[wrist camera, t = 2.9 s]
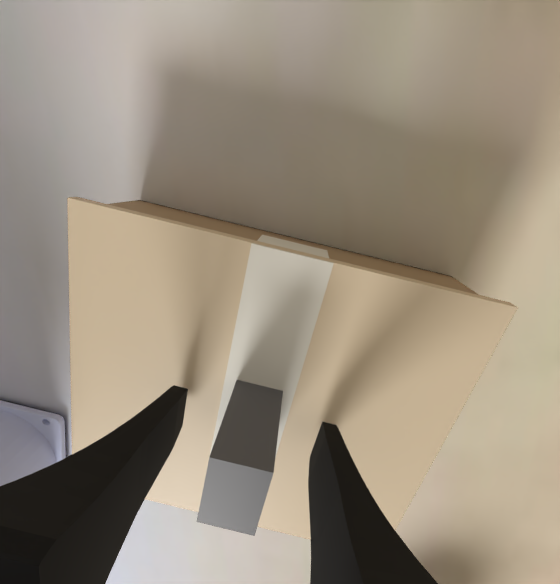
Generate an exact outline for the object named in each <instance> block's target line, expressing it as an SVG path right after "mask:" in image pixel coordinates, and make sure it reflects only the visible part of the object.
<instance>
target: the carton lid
mask: <svg viewBox="0 0 560 584" xmlns="http://www.w3.org/2000/svg"><path fill="white" fill-rule="evenodd" d="M67 204H68V260H69V316H70V371H71V427H72V454H74V453H76V452H78V451H80V450H82V449H83V448H85V447H87V446H89V445H91V444H92V443H94V442H96V441H97V440H99V439H101V438H102V437H104V436H106V435H107V434H109V433H110V432H112V431H113V430H115V429H116V428H118V427H119V426H121V425H122V424H124V423H125V422H127V421H128V420H130V419H131V418H132V417H134V416H135V415H136V414H138V413H139V412H140V411H142V410H143V409H144V408H146V407H147V406H148V405H150V404H151V403H152V402H153V401H155V400H156V399H157V398H158V397H160V396H161V395H162V394H163V393H164V392H166V391H167V390H168V389H169V388H170V387H172V386H173V385H175V386H179V387H183V388H187V389H188V392H187V399H186V406H185V413H184V419H183V426H182V428H181V431H180V433H179V436H178V438H177V440H176V443H175V445H174V447H173V449H172V451H171V453H170V455H169V457H168V459H167V460H166V462H165V464H164V466H163V467H162V469H161V471H160V473H159V475H158V476H157V478H156V480H155V482H154V483H153V485H152V487H151V489H150V490H149V492H148V494H147V496H146V498H145V499H146V500H150V501H154V502H159V503H163V504H167V505H171V506H175V507H179V508H183V509H187V510H191V511H195V512H198V517H197V522H200V523H204V524H208V525H212V526H216V527H220V528H224V529H229V530H233V531H237V532H241V533H245V534H249V535H253V536H255V532H256V529H257V527H261V528H265V529H269V530H273V531H277V532H281V533H285V534H289V535H294V536H298V537H302V538H306V539H310V540H311V534H310V513H309V492H308V476H309V460H310V455H311V452H312V449H313V446H314V444H315V441H316V438H317V435H318V432H319V429H320V427H321V424H322V422H326V423H330V424H335V425H337V427H338V428H339V431H340V433H341V435H342V438H343V440H344V442H345V444H346V447H347V449H348V451H349V453H350V455H351V457H352V459H353V461H354V463H355V465H356V467H357V469H358V471H359V473H360V475H361V477H362V479H363V480H364V482H365V484H366V486H367V488H368V489H369V491H370V493H371V495H372V496H373V498H374V500H375V501H376V503H377V505H378V506H379V508H380V509H381V511H382V512H383V514H384V515H385V517H386V518H387V520H388V521H389V523H390V524H391V526H392V527H393V529H394V530H396V528H397V527H398V525H399V523H400V521H401V519H402V518H403V516H404V514H405V512H406V510H407V508H408V507H409V505H410V503H411V501H412V499H413V498H414V496H415V494H416V492H417V490H418V489H419V487H420V485H421V483H422V481H423V479H424V478H425V476H426V474H427V472H428V470H429V469H430V467H431V465H432V463H433V461H434V459H435V458H436V456H437V454H438V452H439V450H440V449H441V447H442V445H443V443H444V441H445V440H446V438H447V436H448V434H449V432H450V430H451V429H452V427H453V425H454V423H455V421H456V420H457V418H458V416H459V414H460V412H461V411H462V409H463V407H464V405H465V403H466V401H467V400H468V398H469V396H470V394H471V392H472V391H473V389H474V387H475V385H476V383H477V382H478V380H479V378H480V376H481V374H482V372H483V371H484V369H485V367H486V365H487V363H488V362H489V360H490V358H491V356H492V354H493V352H494V351H495V349H496V347H497V345H498V343H499V342H500V340H501V338H502V336H503V334H504V333H505V331H506V329H507V327H508V325H509V323H510V322H511V320H512V318H513V316H514V314H515V313H516V311H517V309H518V307H516V306H514V305H513V304H511V303H509V302H505V301H501V300H497V299H493V298H489V297H485V296H481V295H477V294H472V293H468V292H464V291H460V290H456V289H452V288H448V287H444V286H440V285H436V284H432V283H427V282H423V281H419V280H415V279H411V278H407V277H403V276H399V275H395V274H391V273H387V272H382V271H378V270H374V269H370V268H366V267H362V266H358V265H354V264H350V263H346V262H341V261H337V260H333V259H329V258H325V257H321V256H317V255H313V254H309V253H305V252H301V251H296V250H292V249H288V248H284V247H280V246H276V245H272V244H268V243H264V242H260V241H256V240H251V239H247V238H243V237H239V236H235V235H231V234H227V233H223V232H219V231H215V230H211V229H206V228H202V227H198V226H194V225H190V224H186V223H182V222H178V221H174V220H170V219H165V218H161V217H157V216H153V215H149V214H145V213H141V212H137V211H133V210H129V209H125V208H120V207H116V206H112V205H108V204H104V203H100V202H96V201H92V200H88V199H84V198H80V197H69V198H67Z"/></svg>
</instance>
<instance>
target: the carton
mask: <svg viewBox="0 0 560 584" xmlns="http://www.w3.org/2000/svg"><path fill="white" fill-rule="evenodd" d="M108 205H112V206H116V207H120V208H125V209H129V210H133V211H137V212H141V213H145V214H149V215H153V216H157V217H161V218H165V219H170V220H174V221H178V222H182V223H186V224H190V225H194V226H198V227H202V228H206V229H211V230H215V231H219V232H223V233H227V234H231V235H235V236H239V237H243V238H247V239H251V240H256V241H260V242H264V243H268V244H272V245H276V246H280V247H284V248H288V249H292V250H296V251H301V252H305V253H309V254H313V255H317V256H321V257H325V258H329V259H333V260H337V261H341V262H346V263H350V264H354V265H358V266H362V267H366V268H370V269H374V270H378V271H382V272H387V273H391V274H395V275H399V276H403V277H407V278H411V279H415V280H419V281H423V282H427V283H432V284H436V285H440V286H444V287H448V288H452V289H456V290H460V291H464V292H468V293H472V294H477V293H475V292H474V291H472V290H471V289H469V288H468V287H466V286H465V285H463V284H462V283H460V282H459V281H457V280H456V279H454V278H453V277H451V276H448V275H444V274H440V273H436V272H431V271H427V270H423V269H419V268H415V267H411V266H407V265H403V264H399V263H395V262H391V261H386V260H382V259H378V258H374V257H370V256H366V255H362V254H358V253H354V252H350V251H346V250H341V249H337V248H333V247H329V246H325V245H321V244H317V243H313V242H309V241H305V240H301V239H296V238H292V237H288V236H284V235H280V234H276V233H272V232H268V231H264V230H260V229H256V228H251V227H247V226H243V225H239V224H235V223H231V222H227V221H223V220H219V219H215V218H210V217H206V216H202V215H198V214H194V213H190V212H186V211H182V210H178V209H174V208H170V207H165V206H161V205H157V204H153V203H149V202H145V201H141V200H137V201H129V202H121V203H113V204H108ZM477 295H478V294H477Z"/></svg>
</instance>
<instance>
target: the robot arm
mask: <svg viewBox="0 0 560 584" xmlns="http://www.w3.org/2000/svg"><path fill="white" fill-rule="evenodd" d="M187 392H188V389H187V388H183V387H179V386H175V385H173V386H172V387H170V388H169V389H168V390H167V391H166V392H164V393H163V394H162V395H161V396H160V397H158V398H157V399H156V400H155V401H153V402H152V403H151V404H150V405H148V406H147V407H146V408H144V409H143V410H142V411H140V412H139V413H138V414H136V415H135V416H134V417H132V418H131V419H130V420H128V421H127V422H125V423H124V424H122V425H121V426H119V427H118V428H116V429H115V430H113V431H112V432H110V433H109V434H107V435H106V436H104V437H102V438H101V439H99V440H97V441H96V442H94V443H92V444H91V445H89V446H87V447H85V448H83V449H82V450H80V451H78V452H76V453H74V454H72V455H70V456H68V457H67V458H66V452H65V421H64V419H63V417H62V416H60V415H58V414H54V413H50V412H46V411H42V410H38V409H34V408H30V407H25V406H21V405H17V404H13V403H9V402H5V401H1V400H0V584H105V583H106V580H107V578H108V576H109V574H110V571H111V569H112V567H113V565H114V562H115V560H116V558H117V556H118V553H119V551H120V549H121V547H122V545H123V542H124V540H125V538H126V536H127V534H128V531H129V529H130V527H131V525H132V523H133V521H134V518H135V516H136V514H137V512H138V511H139V509H140V507H141V505H142V503H143V501H144V499H145V498H146V496H147V494H148V492H149V490H150V489H151V487H152V485H153V483H154V482H155V480H156V478H157V476H158V475H159V473H160V471H161V469H162V467H163V466H164V464H165V462H166V460H167V459H168V457H169V455H170V453H171V451H172V449H173V447H174V445H175V443H176V440H177V438H178V436H179V433H180V431H181V428H182V426H183V419H184V413H185V406H186V399H187ZM308 492H309V513H310V534H311V582H310V584H438V583H437V582H436V581H435V580H434V579H433V577H432V576H431V575H430V574H429V573H428V572H427V570H426V569H425V568H424V567H423V566H422V565H421V563H420V562H419V561H418V560H417V559H416V557H415V556H414V555H413V554H412V552H411V551H410V550H409V548H408V547H407V546H406V545H405V543H404V542H403V541H402V539H401V538H400V537H399V535H398V534H397V533H396V531H395V530H394V529H393V527H392V526H391V524H390V523H389V521H388V520H387V518H386V517H385V515H384V514H383V512H382V511H381V509H380V508H379V506H378V505H377V503H376V501H375V500H374V498H373V496H372V495H371V493H370V491H369V489H368V488H367V486H366V484H365V482H364V480H363V479H362V477H361V475H360V473H359V471H358V469H357V467H356V465H355V463H354V461H353V459H352V457H351V455H350V453H349V451H348V449H347V447H346V444H345V442H344V440H343V438H342V435H341V433H340V431H339V428H338V427H337V425H335V424H330V423H326V422H322V424H321V427H320V429H319V432H318V435H317V438H316V441H315V444H314V446H313V449H312V452H311V455H310V460H309V476H308Z"/></svg>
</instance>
